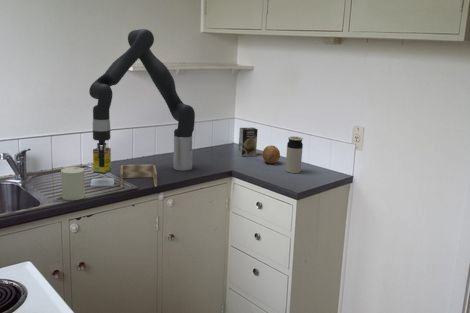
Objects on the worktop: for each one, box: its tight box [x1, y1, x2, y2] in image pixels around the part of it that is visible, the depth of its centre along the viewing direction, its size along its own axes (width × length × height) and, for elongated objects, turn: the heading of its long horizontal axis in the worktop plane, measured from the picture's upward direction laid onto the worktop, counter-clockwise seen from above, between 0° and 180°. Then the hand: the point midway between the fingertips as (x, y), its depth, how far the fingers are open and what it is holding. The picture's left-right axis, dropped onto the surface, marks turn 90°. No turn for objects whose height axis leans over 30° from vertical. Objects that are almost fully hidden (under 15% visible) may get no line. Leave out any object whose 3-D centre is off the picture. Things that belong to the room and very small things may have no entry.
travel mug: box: [285, 136, 304, 174], centre depth 252 cm, size 8×8×18 cm
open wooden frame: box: [120, 164, 158, 188], centre depth 224 cm, size 16×16×6 cm
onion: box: [261, 145, 281, 164], centre depth 267 cm, size 10×10×10 cm
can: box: [60, 166, 86, 201], centre depth 199 cm, size 9×9×12 cm
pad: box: [90, 177, 115, 188], centre depth 220 cm, size 10×10×1 cm
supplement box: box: [92, 147, 112, 175], centre depth 218 cm, size 6×6×11 cm
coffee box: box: [237, 127, 258, 158], centre depth 281 cm, size 9×6×16 cm
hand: (102, 164), depth 218 cm, fingers closed on supplement box, 7 cm apart
